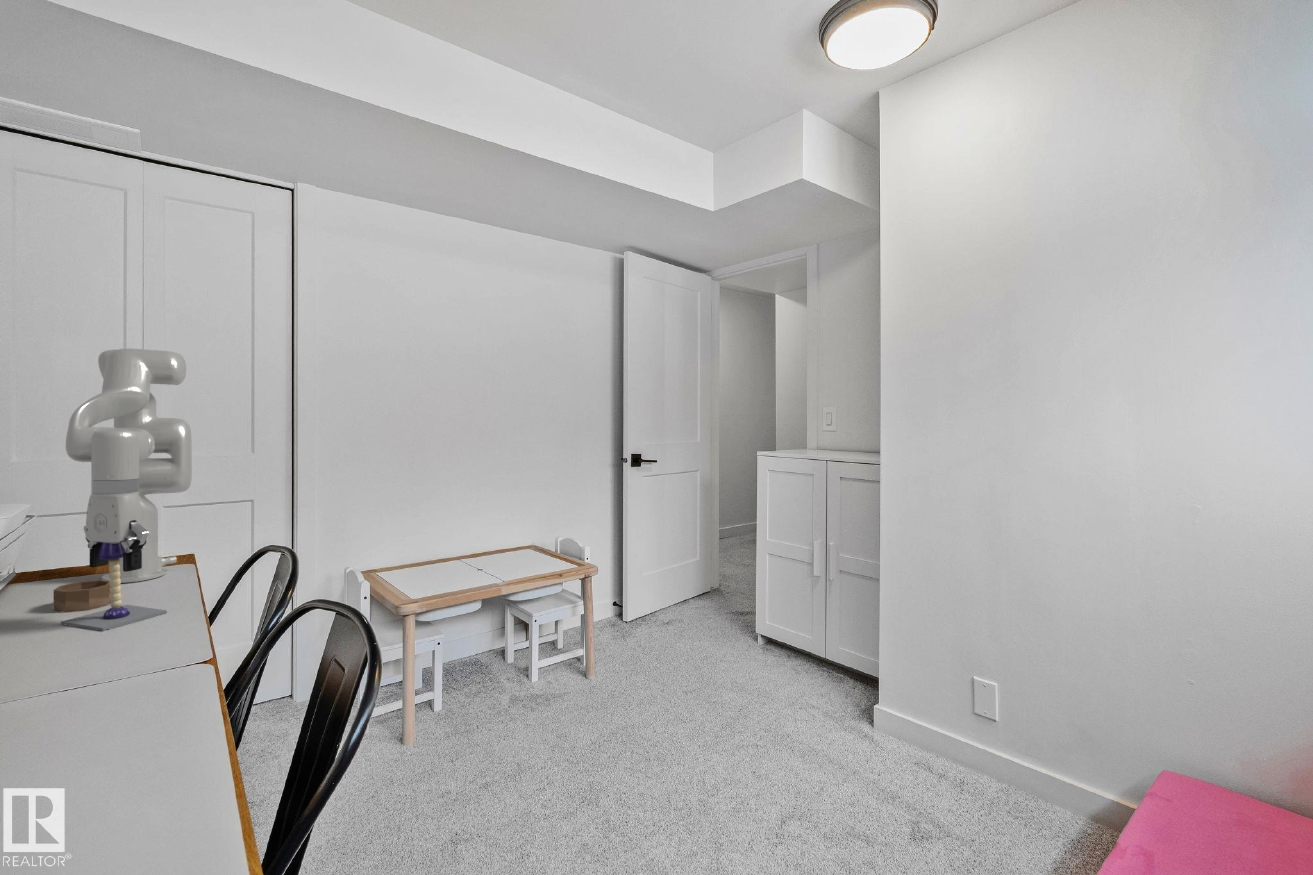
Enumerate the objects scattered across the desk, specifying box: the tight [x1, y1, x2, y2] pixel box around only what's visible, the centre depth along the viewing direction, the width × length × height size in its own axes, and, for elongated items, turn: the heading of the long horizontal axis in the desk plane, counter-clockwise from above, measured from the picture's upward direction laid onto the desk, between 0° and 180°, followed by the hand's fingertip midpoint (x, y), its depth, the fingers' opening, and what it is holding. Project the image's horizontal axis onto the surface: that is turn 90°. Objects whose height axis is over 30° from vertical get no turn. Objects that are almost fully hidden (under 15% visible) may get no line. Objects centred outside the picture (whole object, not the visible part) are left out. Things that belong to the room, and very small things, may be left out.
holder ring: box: [53, 579, 111, 613], centre depth 135 cm, size 9×9×4 cm
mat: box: [60, 604, 168, 632], centre depth 127 cm, size 12×12×1 cm
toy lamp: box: [99, 542, 130, 619], centre depth 126 cm, size 5×5×17 cm
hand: (115, 568), depth 126 cm, fingers open, 9 cm apart
